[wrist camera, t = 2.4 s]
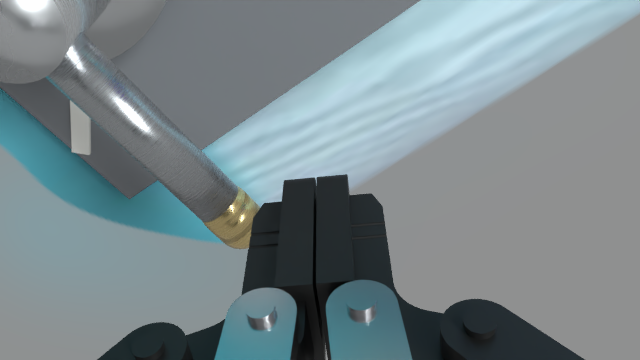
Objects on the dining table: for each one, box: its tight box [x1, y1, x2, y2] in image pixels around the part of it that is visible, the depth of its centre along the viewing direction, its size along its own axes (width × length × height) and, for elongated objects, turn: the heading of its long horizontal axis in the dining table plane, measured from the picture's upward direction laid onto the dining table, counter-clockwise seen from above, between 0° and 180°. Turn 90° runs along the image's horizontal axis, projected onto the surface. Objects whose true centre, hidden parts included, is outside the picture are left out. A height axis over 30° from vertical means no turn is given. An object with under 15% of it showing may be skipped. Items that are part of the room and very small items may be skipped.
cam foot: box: [0, 0, 260, 249], centre depth 18 cm, size 16×9×6 cm, turn 36°
